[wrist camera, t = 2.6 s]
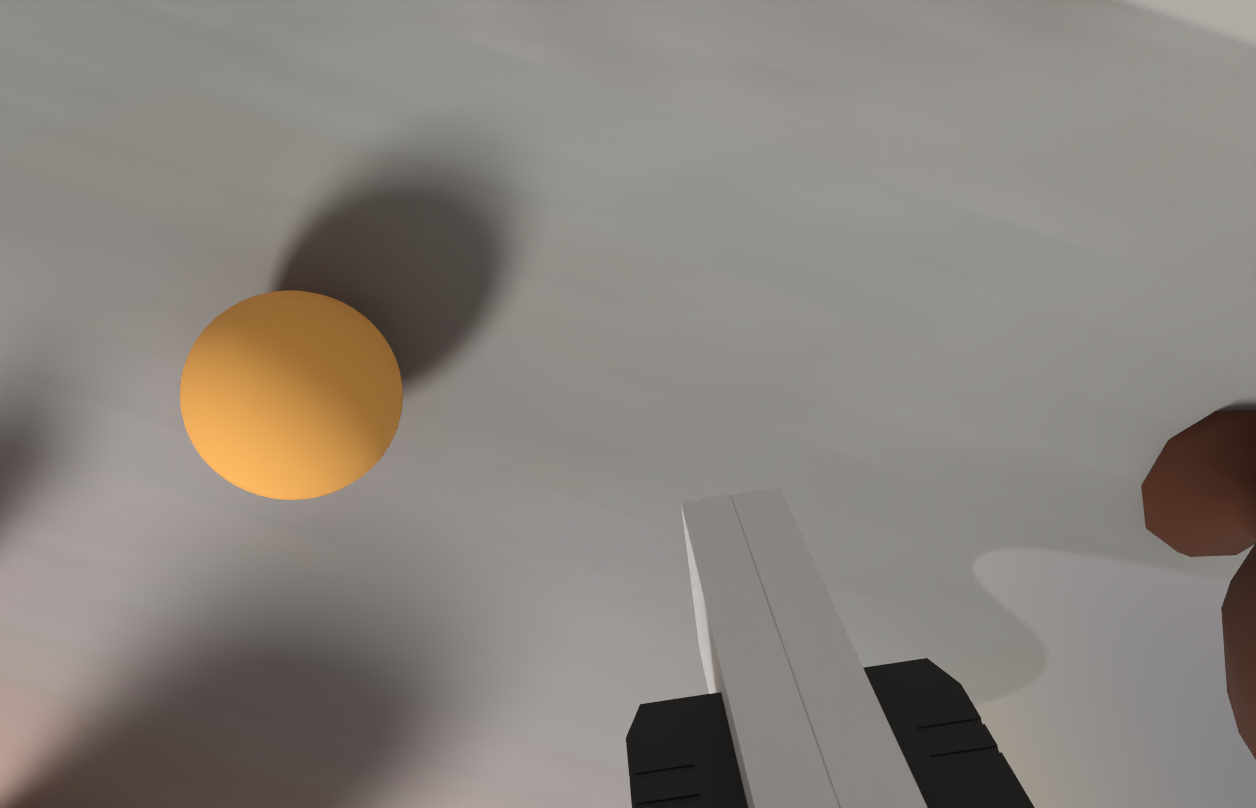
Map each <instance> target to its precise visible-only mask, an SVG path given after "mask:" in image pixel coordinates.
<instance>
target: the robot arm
mask: <svg viewBox="0 0 1256 808" xmlns="http://www.w3.org/2000/svg"><path fill="white" fill-rule="evenodd" d="M681 507H682V515H683V522H684V530H685V538H686V546H687V554H688V562H689V570H690V577H691V585H692V593H693V601H694V609H695V617H696V625H697V633H698V640H699V648H700V653H701V658H702V663H703V667H704V672H705V677H706V681H707V686H708V690H709V694H705V695H699V696H692V697H685V698H679V699H672V700H666V701H659V702H652V703H646V704H640V706H639V709H638V711H637V713H636V716H635V718H634V720H633V723H632V725H631V727H630V730H629V732H628V734H627V737H626V743H627V755H628V766H629V776H630V789H631V801H632V808H1034V806H1033V804H1032V803H1031V801H1030V799H1029V798H1028V796H1027V794H1026V793H1025V791H1024V789H1023V787H1022V786H1021V784H1020V782H1019V781H1018V779H1017V777H1016V776H1015V774H1014V773H1013V771H1012V769H1011V767H1010V766H1009V764H1008V762H1007V761H1006V759H1005V757H1004V756H1003V754H1002V753H999V751H998V747H997V744H996V742H995V741H994V739H993V738H992V735H991V734H990V732H989V730H988V729H987V727H986V726H985V724H982V722H981V717H980V715H979V714H978V712H977V710H976V709H975V707H974V705H973V704H972V702H971V700H970V699H969V697H968V695H967V694H966V692H965V690H964V689H963V687H962V685H961V684H960V683H959V682H957V681H956V680H955V679H954V678H952V677H951V676H950V675H948V674H947V673H946V672H944V671H943V670H942V669H940V668H939V667H938V666H937V665H935V664H934V663H933V662H931V661H930V660H929V659H927V658H924V659H918V660H911V661H905V662H898V663H892V664H885V665H878V666H872V667H865V668H863V667H862V664H861V662H860V660H859V658H858V656H857V654H856V651H855V649H854V647H853V645H852V643H851V640H850V638H849V636H848V634H847V632H846V630H845V627H844V625H843V623H842V621H841V619H840V617H839V614H838V612H837V610H836V608H835V606H834V604H833V601H832V599H831V597H830V595H829V593H828V591H827V588H826V586H825V584H824V582H823V580H822V578H821V575H820V573H819V571H818V569H817V567H816V565H815V562H814V560H813V558H812V556H811V554H810V552H809V549H808V547H807V545H806V543H805V541H804V538H803V536H802V534H801V532H800V530H799V528H798V525H797V523H796V521H795V519H794V517H793V515H792V512H791V510H790V508H789V506H788V504H787V502H786V499H785V497H784V495H783V493H782V491H781V489H780V487H779V488H772V489H765V490H759V491H752V492H745V493H739V494H732V495H725V496H719V497H712V498H705V499H699V500H692V501H685V502H681Z"/></svg>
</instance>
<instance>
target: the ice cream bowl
mask: <svg viewBox="0 0 1256 808" xmlns="http://www.w3.org/2000/svg"><path fill="white" fill-rule="evenodd" d="M1142 495H1143V505H1144V514H1145V524H1146V529H1148V530H1149V531H1150V532H1152V533H1153V534H1154V535H1156V536H1157V537H1158V538H1160V539H1161V540H1162V541H1164V542H1165V543H1167V544H1168V545H1169V546H1171V547H1172V548H1173V549H1175V550H1176V551H1177V552H1179V553H1182V554H1185V555H1187V556H1190V557H1196V556H1222V555H1237V554H1239V553H1240V552H1242V551H1244V550H1245V549H1247V548H1249V547H1251V546H1252V545H1254V544H1255V545H1254V547H1253V548H1252V550H1251V551H1250V553H1249V554H1248V556H1247V557H1246V559H1245V560H1244V562H1243V563H1242V565H1241V566H1240V568H1239V569H1238V571H1237V572H1236V574H1235V575H1234V577H1233V578H1232V580H1231V582H1230V585H1229V588H1228V591H1227V594H1226V596H1225V599H1224V602H1223V605H1222V608H1221V609H1222V624H1223V638H1224V652H1225V667H1226V681H1227V692H1228V696H1229V699H1230V703H1231V707H1232V710H1233V713H1234V717H1235V720H1236V724H1237V727H1238V730H1239V734H1240V735H1241V737H1242V738H1243V740H1244V741H1245V743H1246V745H1247V746H1248V748H1249V749H1250V751H1251V753H1252V754H1253V756H1254V758H1255V759H1256V410H1244V411H1216V412H1214V413H1213V414H1211V415H1210V416H1208V417H1206V418H1205V419H1203V420H1201V421H1200V422H1198V423H1197V424H1195V425H1193V426H1192V427H1190V428H1188V429H1187V430H1185V431H1183V432H1182V433H1180V434H1179V435H1177V436H1175V437H1174V438H1172V439H1170V440H1169V441H1168V442H1167V444H1166V445H1165V447H1164V449H1163V450H1162V452H1161V454H1160V455H1159V457H1158V459H1157V461H1156V462H1155V464H1154V466H1153V467H1152V469H1151V471H1150V472H1149V474H1148V476H1147V477H1146V479H1145V481H1144V483H1143V484H1142Z"/></svg>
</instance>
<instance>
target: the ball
mask: <svg viewBox="0 0 1256 808" xmlns="http://www.w3.org/2000/svg"><path fill="white" fill-rule="evenodd" d="M402 403H403V387H402V380H401V375H400V370H399V367H398V364H397V360H396V358H395V356H394V354H393V352H392V349H391V347H390V346H389V344H388V343H387V341H386V340H385V338H384V337H383V335H382V334H381V333H380V332H379V330H378V329H377V328H376V327H375V326H374V325H373V324H372V323H371V322H370V321H369V320H368V319H367V318H366V317H365V316H363V315H362V314H361V313H359V312H358V311H357V310H355V309H354V308H352V307H350V306H348V305H347V304H345V303H343V302H341V301H338V300H336V299H334V298H331V297H328V296H325V295H321V294H318V293H312V292H306V291H293V290H286V291H275V292H270V293H265V294H261V295H257V296H254V297H251V298H248V299H246V300H243V301H241V302H239V303H238V304H236V305H234V306H232V307H230V308H229V309H227V310H226V311H224V312H223V313H222V314H220V315H219V316H218V317H216V318H215V319H214V320H213V321H212V322H211V323H210V324H209V325H208V326H207V327H206V328H205V330H204V331H203V332H202V333H201V335H200V336H199V337H198V339H197V340H196V341H195V343H194V345H193V347H192V349H191V351H190V353H189V355H188V357H187V360H186V363H185V366H184V369H183V373H182V378H181V386H180V404H181V412H182V416H183V420H184V424H185V427H186V430H187V432H188V434H189V437H190V439H191V441H192V443H193V445H194V446H195V448H196V450H197V451H198V453H199V454H200V455H201V457H202V458H203V459H204V460H205V462H206V463H207V464H208V465H209V466H210V467H211V468H212V469H213V470H214V471H216V472H217V473H218V474H219V475H221V476H222V477H223V478H224V479H226V480H228V481H229V482H231V483H232V484H234V485H236V486H238V487H240V488H242V489H244V490H246V491H249V492H251V493H254V494H257V495H260V496H265V497H269V498H275V499H282V500H298V499H308V498H314V497H319V496H324V495H327V494H330V493H332V492H335V491H337V490H339V489H341V488H343V487H346V486H348V485H349V484H351V483H353V482H354V481H356V480H357V479H359V478H360V477H362V476H363V475H364V474H365V473H366V472H368V471H369V470H370V469H371V468H372V467H373V466H374V465H375V464H376V463H377V462H378V461H379V459H380V458H381V457H382V456H383V454H384V453H385V451H386V450H387V448H388V446H389V445H390V443H391V441H392V440H393V437H394V435H395V433H396V430H397V428H398V424H399V420H400V416H401V412H402Z"/></svg>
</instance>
